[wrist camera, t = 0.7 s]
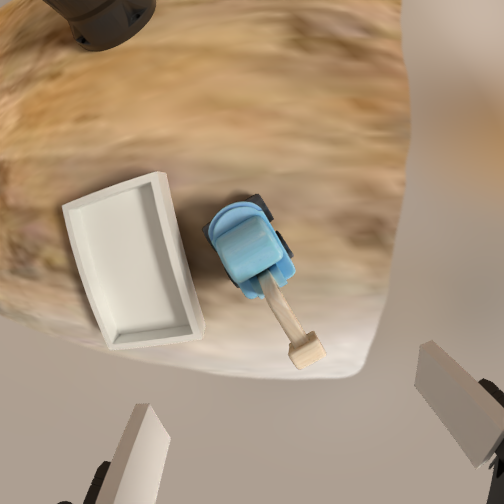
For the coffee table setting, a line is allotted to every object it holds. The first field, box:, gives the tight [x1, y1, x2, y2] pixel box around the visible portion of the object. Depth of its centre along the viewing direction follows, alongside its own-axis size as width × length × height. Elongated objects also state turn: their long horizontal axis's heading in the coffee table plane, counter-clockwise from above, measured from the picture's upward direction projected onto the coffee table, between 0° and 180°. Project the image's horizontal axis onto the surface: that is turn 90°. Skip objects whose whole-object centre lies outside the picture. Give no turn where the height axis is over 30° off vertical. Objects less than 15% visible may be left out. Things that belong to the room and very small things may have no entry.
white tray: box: [62, 171, 206, 350], centre depth 35 cm, size 22×15×6 cm
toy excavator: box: [202, 194, 326, 369], centre depth 30 cm, size 9×17×17 cm, turn 30°
